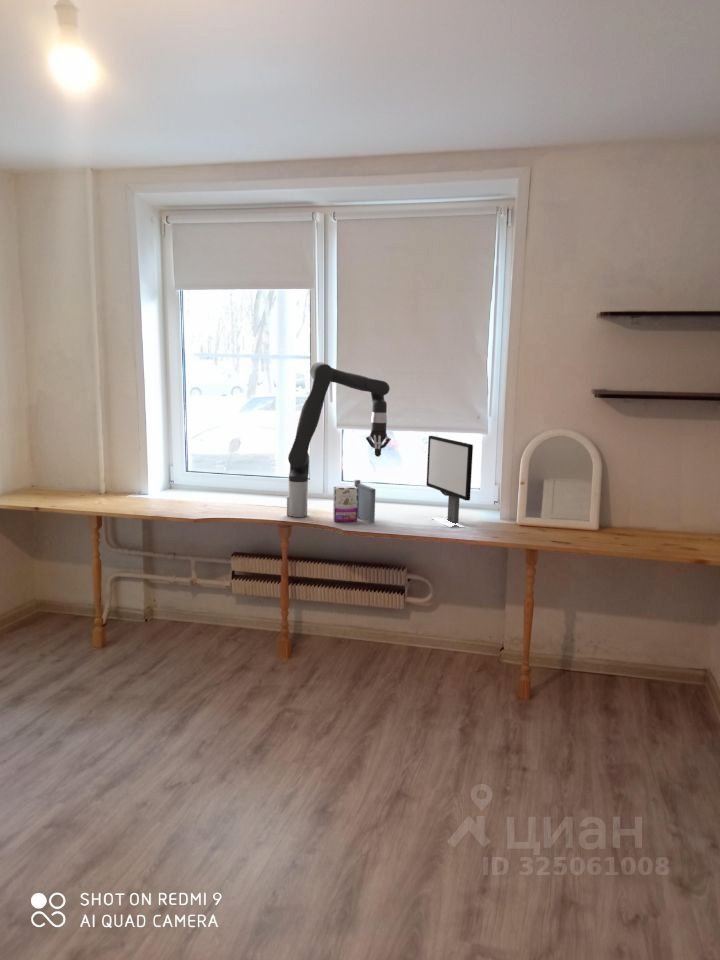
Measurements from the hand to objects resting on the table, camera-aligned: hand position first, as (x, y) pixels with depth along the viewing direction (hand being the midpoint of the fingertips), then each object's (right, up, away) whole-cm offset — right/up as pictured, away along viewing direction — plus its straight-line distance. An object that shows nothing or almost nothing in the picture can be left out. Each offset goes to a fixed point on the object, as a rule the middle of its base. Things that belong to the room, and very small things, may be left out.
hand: (377, 456), depth 347 cm
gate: (-6, -31, -14) cm, 34 cm away
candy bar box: (-16, -32, -15) cm, 38 cm away
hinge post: (-11, -30, -4) cm, 32 cm away
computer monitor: (+33, -33, -12) cm, 48 cm away
